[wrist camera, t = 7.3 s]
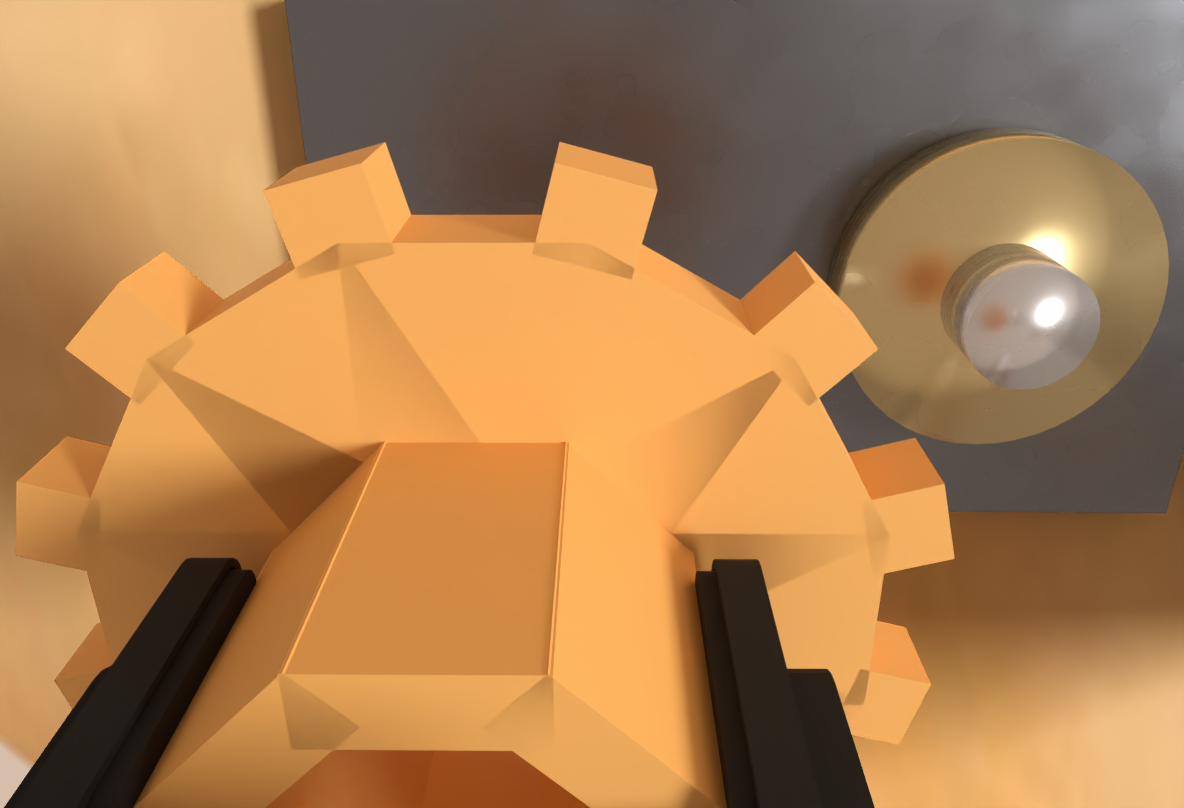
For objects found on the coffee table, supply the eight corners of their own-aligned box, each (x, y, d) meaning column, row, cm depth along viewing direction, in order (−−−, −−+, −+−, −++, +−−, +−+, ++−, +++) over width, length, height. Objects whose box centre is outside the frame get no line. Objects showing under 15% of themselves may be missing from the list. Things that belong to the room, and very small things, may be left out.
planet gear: (987, 140, 11) (1275, 286, 6) (865, 863, 16) (975, 1246, 11) (-36, 142, 11) (-510, 285, 6) (161, 858, 16) (-23, 1235, 11)
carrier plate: (1282, -9, 23) (1540, 6, 17) (1145, 492, 29) (1296, 646, 23) (299, -4, 24) (181, 12, 17) (360, 486, 30) (288, 635, 23)
